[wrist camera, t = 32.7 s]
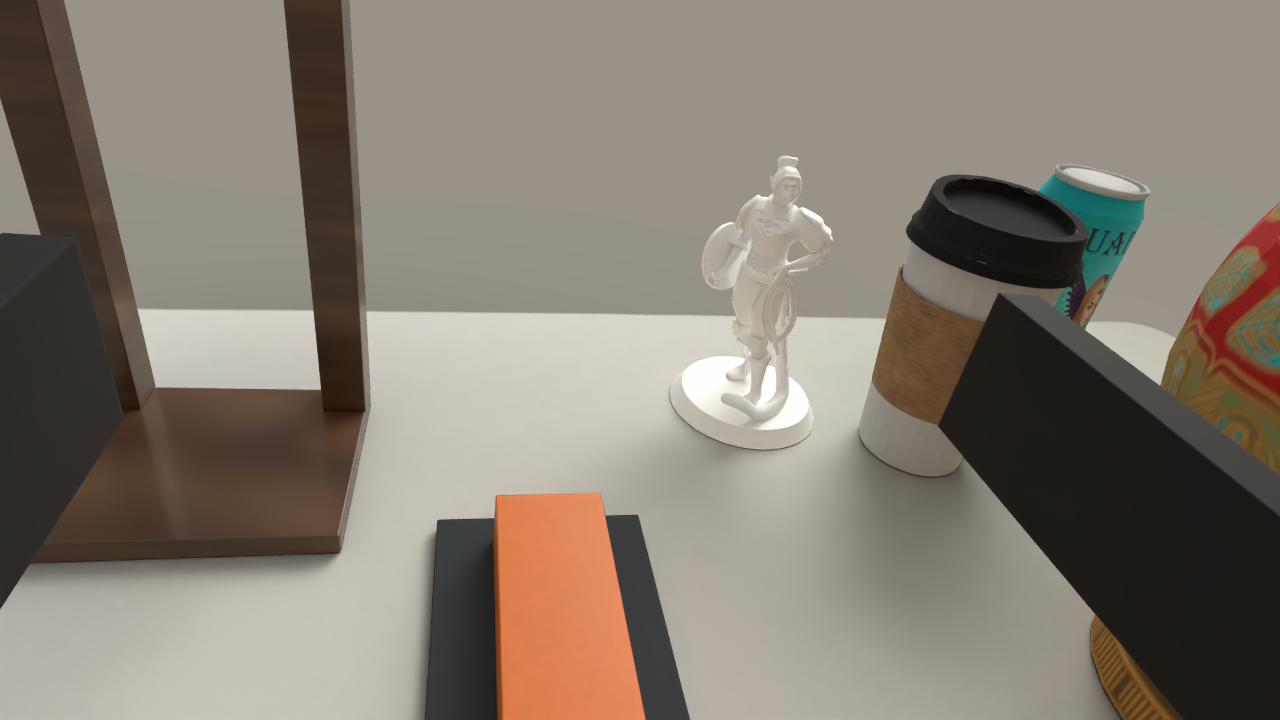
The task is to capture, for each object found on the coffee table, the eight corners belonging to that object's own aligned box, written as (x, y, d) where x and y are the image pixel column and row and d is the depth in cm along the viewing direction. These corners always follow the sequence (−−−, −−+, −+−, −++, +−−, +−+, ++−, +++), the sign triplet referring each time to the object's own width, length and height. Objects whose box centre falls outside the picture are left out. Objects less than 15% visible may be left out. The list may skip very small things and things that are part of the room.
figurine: (641, 380, 45) (684, 134, 37) (747, 352, 50) (805, 130, 42) (734, 466, 39) (809, 196, 31) (844, 426, 44) (932, 183, 36)
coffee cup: (958, 415, 47) (1062, 188, 39) (1002, 504, 40) (1140, 248, 32) (828, 392, 47) (906, 161, 39) (848, 478, 40) (949, 215, 32)
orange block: (690, 1082, 18) (711, 1045, 16) (505, 1120, 17) (511, 1084, 15) (594, 535, 33) (600, 492, 31) (493, 537, 32) (496, 494, 30)
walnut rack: (340, 553, 30) (234, -607, 14) (0, 564, 28) (-623, -865, 11) (372, 396, 40) (330, -414, 23) (120, 393, 37) (-129, -530, 21)
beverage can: (1017, 422, 47) (1132, 199, 39) (941, 377, 51) (1032, 164, 43) (1059, 400, 50) (1173, 190, 43) (984, 359, 54) (1077, 159, 46)
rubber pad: (735, 922, 21) (739, 913, 21) (409, 975, 19) (409, 965, 19) (636, 523, 34) (638, 514, 34) (437, 528, 32) (437, 519, 32)
